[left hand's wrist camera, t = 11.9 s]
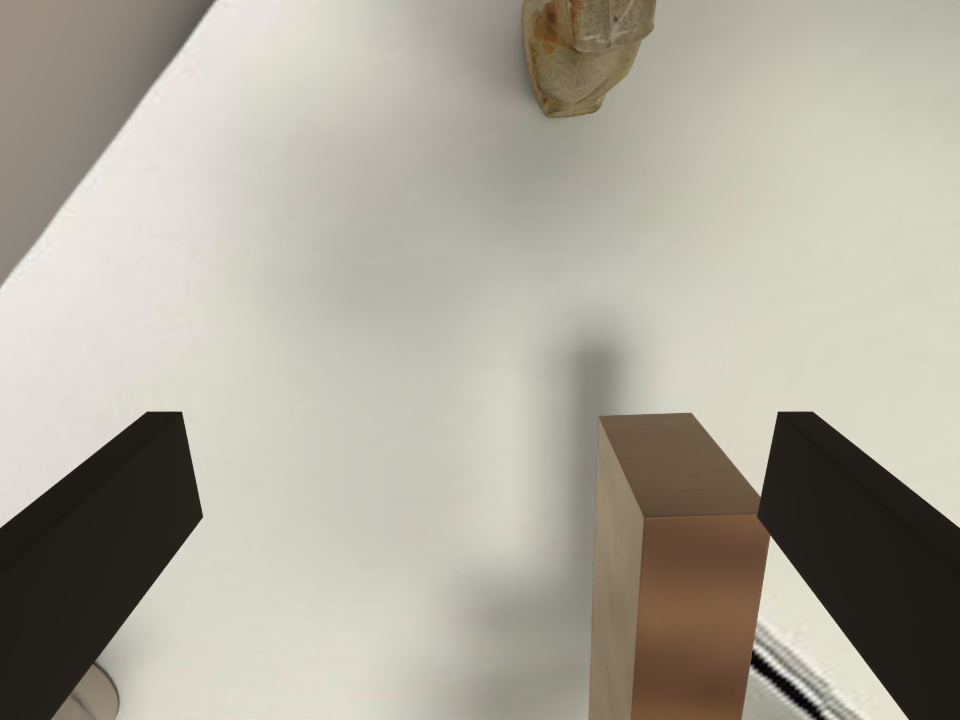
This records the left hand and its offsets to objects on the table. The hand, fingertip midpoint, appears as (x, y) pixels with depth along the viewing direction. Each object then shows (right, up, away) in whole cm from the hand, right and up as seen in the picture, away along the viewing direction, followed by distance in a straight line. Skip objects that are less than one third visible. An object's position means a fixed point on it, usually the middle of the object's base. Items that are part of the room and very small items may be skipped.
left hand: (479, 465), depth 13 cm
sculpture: (+5, +21, +23) cm, 32 cm away
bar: (+10, -13, +23) cm, 28 cm away
